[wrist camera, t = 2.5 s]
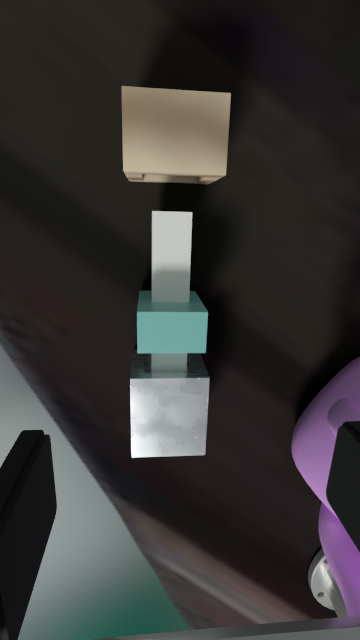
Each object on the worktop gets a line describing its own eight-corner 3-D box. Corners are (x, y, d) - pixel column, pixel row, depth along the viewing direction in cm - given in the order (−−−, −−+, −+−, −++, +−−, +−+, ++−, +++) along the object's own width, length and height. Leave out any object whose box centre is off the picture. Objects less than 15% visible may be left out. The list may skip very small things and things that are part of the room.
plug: (190, 411, 33) (199, 459, 26) (140, 412, 33) (138, 461, 26) (198, 213, 28) (213, 212, 21) (139, 211, 27) (136, 209, 21)
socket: (208, 184, 27) (225, 175, 21) (129, 181, 27) (123, 170, 21) (212, 121, 26) (230, 93, 20) (128, 116, 25) (121, 86, 19)
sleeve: (195, 414, 33) (205, 454, 28) (134, 415, 33) (131, 457, 27) (198, 348, 31) (209, 377, 26) (133, 348, 31) (130, 378, 25)
